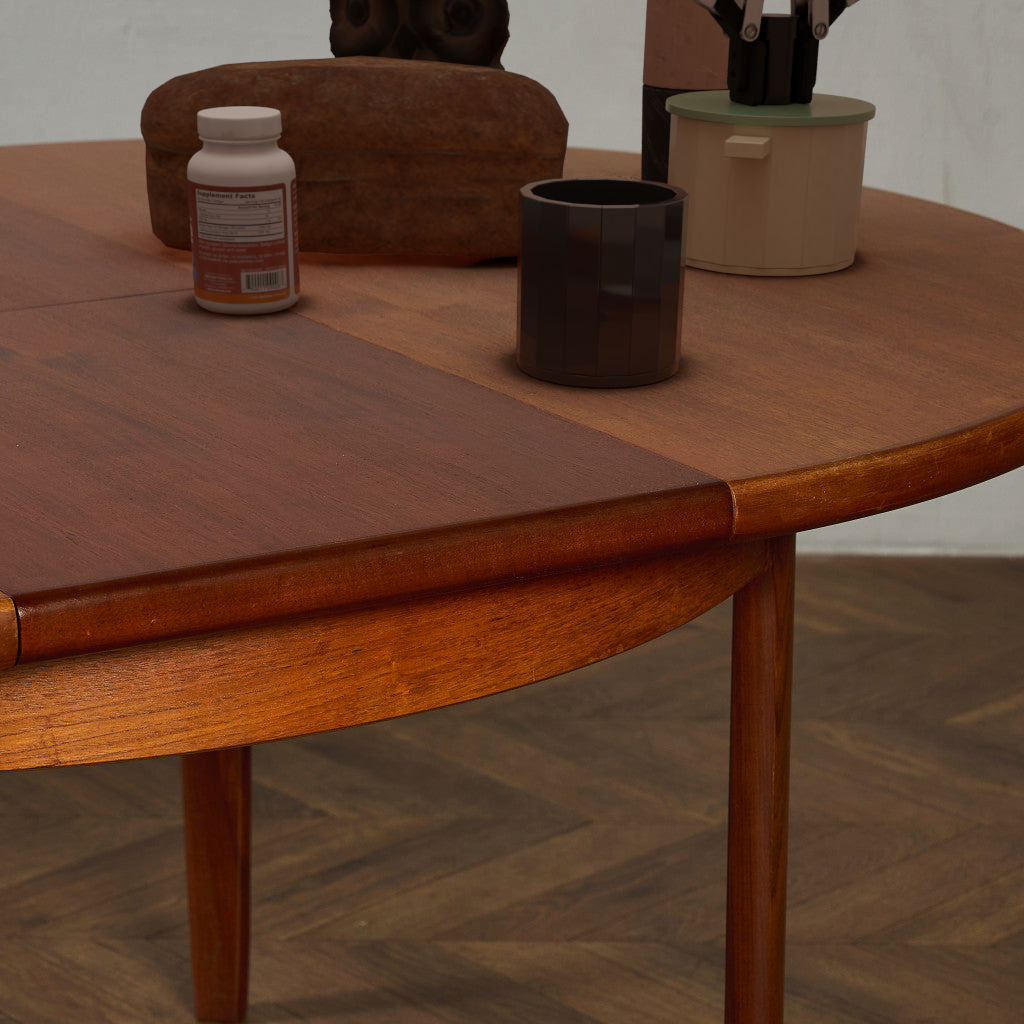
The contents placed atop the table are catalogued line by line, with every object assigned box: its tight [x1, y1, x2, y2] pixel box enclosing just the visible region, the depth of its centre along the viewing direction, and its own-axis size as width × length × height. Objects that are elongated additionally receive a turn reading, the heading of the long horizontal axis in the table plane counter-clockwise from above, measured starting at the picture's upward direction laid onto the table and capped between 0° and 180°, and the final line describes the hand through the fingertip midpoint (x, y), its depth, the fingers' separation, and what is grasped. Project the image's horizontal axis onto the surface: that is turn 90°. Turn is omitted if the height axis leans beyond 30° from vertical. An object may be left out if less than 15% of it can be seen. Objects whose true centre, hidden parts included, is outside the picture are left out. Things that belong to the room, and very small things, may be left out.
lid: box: [666, 12, 877, 127], centre depth 106 cm, size 14×14×7 cm
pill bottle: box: [187, 106, 301, 315], centre depth 94 cm, size 6×6×11 cm
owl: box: [328, 0, 511, 71], centre depth 128 cm, size 13×13×20 cm
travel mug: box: [640, 0, 729, 184], centre depth 128 cm, size 8×8×20 cm
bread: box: [139, 56, 570, 259], centre depth 109 cm, size 14×28×12 cm, turn 90°
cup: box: [515, 176, 689, 389], centre depth 83 cm, size 8×8×9 cm
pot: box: [668, 114, 869, 277], centre depth 109 cm, size 13×18×10 cm
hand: (770, 99), depth 107 cm, fingers closed on lid, 3 cm apart
